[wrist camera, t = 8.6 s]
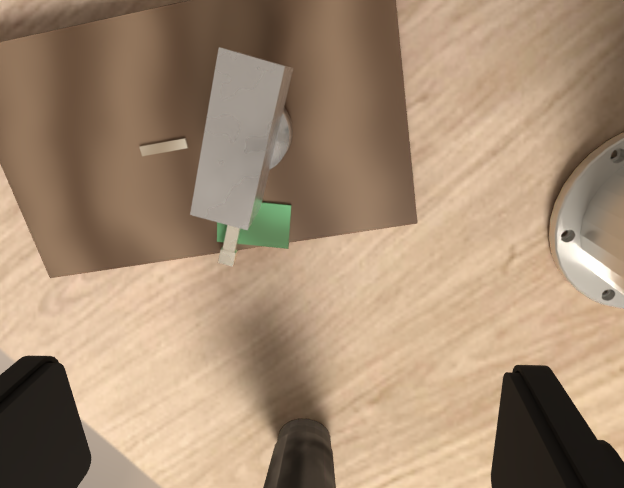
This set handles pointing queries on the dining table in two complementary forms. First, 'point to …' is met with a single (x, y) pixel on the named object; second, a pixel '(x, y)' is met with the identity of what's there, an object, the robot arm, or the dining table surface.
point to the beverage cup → (302, 457)
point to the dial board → (201, 128)
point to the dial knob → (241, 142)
